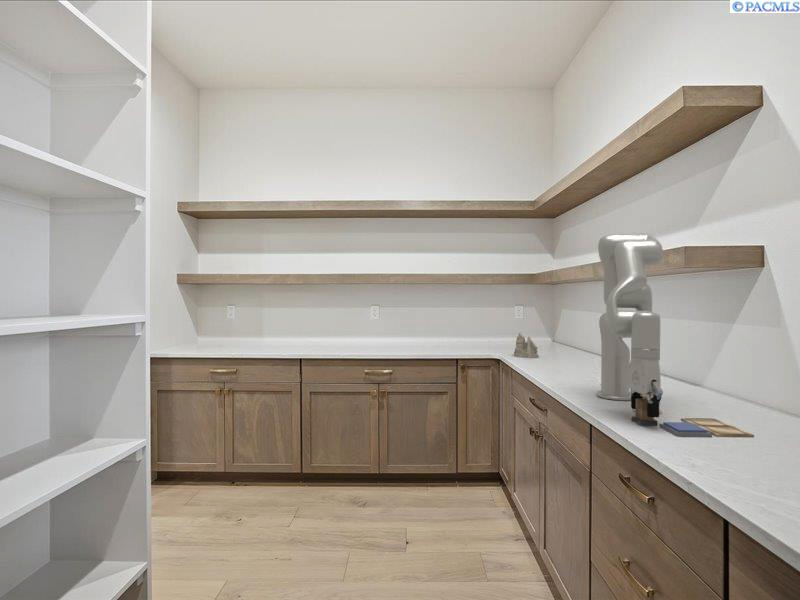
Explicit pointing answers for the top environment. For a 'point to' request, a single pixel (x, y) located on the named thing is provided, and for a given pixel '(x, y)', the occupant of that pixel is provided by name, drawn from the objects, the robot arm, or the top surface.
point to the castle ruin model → (525, 348)
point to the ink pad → (685, 429)
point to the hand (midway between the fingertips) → (644, 412)
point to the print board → (718, 427)
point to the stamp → (643, 414)
